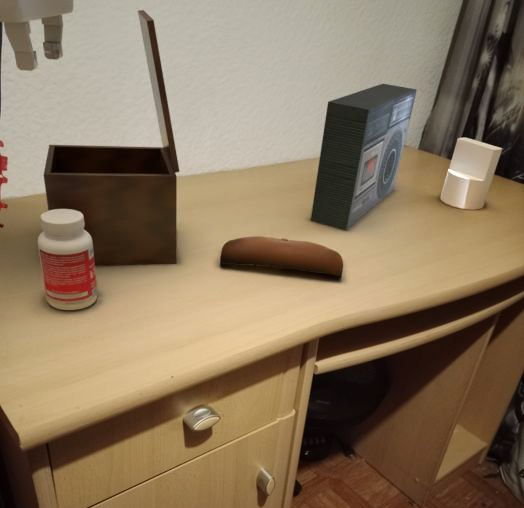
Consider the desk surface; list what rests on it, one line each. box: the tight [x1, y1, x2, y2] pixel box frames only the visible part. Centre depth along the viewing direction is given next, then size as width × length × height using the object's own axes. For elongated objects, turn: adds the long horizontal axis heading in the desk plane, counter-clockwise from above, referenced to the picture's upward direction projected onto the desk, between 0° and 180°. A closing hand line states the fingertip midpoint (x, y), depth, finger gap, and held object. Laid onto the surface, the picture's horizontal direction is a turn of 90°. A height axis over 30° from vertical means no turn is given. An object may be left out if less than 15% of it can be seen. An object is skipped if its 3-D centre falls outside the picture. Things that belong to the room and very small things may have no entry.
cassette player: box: [310, 83, 418, 231], centre depth 102 cm, size 29×7×20 cm, turn 152°
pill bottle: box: [37, 209, 98, 311], centre depth 65 cm, size 6×6×11 cm
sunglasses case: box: [219, 235, 344, 279], centre depth 81 cm, size 18×7×7 cm, turn 86°
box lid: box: [137, 9, 180, 174], centre depth 72 cm, size 17×14×1 cm
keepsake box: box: [43, 144, 178, 267], centre depth 79 cm, size 17×14×13 cm
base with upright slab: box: [440, 137, 503, 211], centre depth 112 cm, size 9×9×12 cm
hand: (42, 63), depth 62 cm, fingers open, 8 cm apart
